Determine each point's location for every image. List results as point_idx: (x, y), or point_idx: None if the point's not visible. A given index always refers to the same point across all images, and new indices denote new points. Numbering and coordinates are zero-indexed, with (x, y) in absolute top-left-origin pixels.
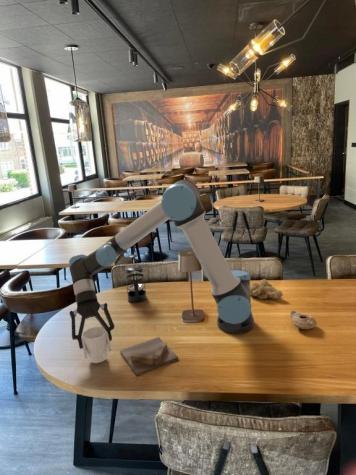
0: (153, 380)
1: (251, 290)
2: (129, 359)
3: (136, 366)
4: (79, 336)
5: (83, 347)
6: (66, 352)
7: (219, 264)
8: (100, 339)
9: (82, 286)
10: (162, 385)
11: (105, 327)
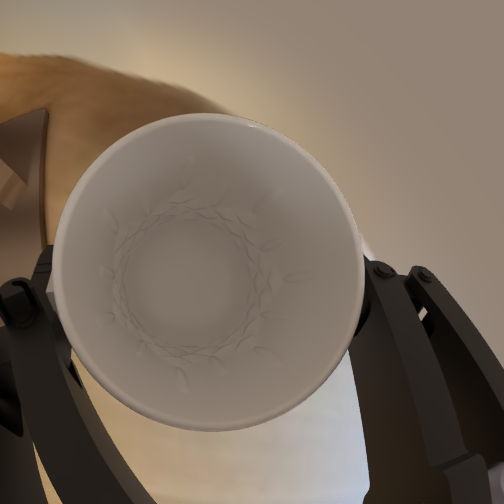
0: (22, 85)
1: None
2: (27, 209)
3: (24, 146)
4: (383, 266)
5: None
6: (334, 404)
7: None
8: (156, 141)
9: None
10: (18, 65)
11: (47, 347)
